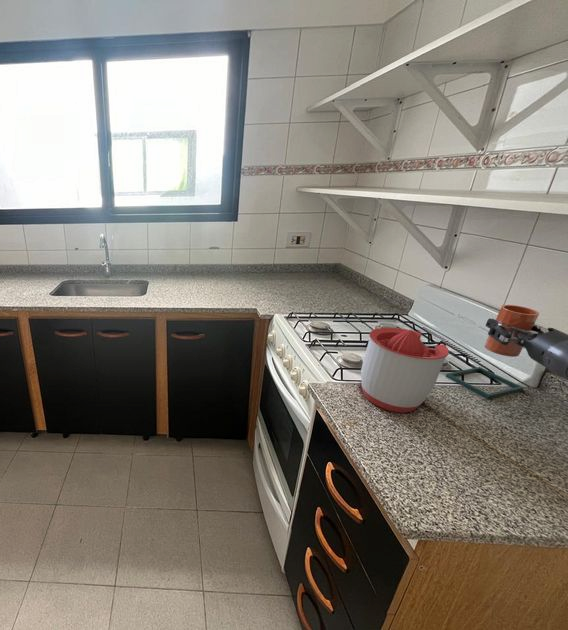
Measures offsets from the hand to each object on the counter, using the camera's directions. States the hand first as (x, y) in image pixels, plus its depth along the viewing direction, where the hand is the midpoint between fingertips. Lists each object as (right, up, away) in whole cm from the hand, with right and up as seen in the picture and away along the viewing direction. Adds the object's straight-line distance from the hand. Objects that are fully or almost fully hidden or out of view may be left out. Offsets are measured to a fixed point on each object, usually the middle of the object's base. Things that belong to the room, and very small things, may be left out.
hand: (504, 322), depth 85 cm
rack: (+1, -18, +8) cm, 19 cm away
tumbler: (0, -7, 0) cm, 7 cm away
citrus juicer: (-25, -20, +4) cm, 33 cm away
